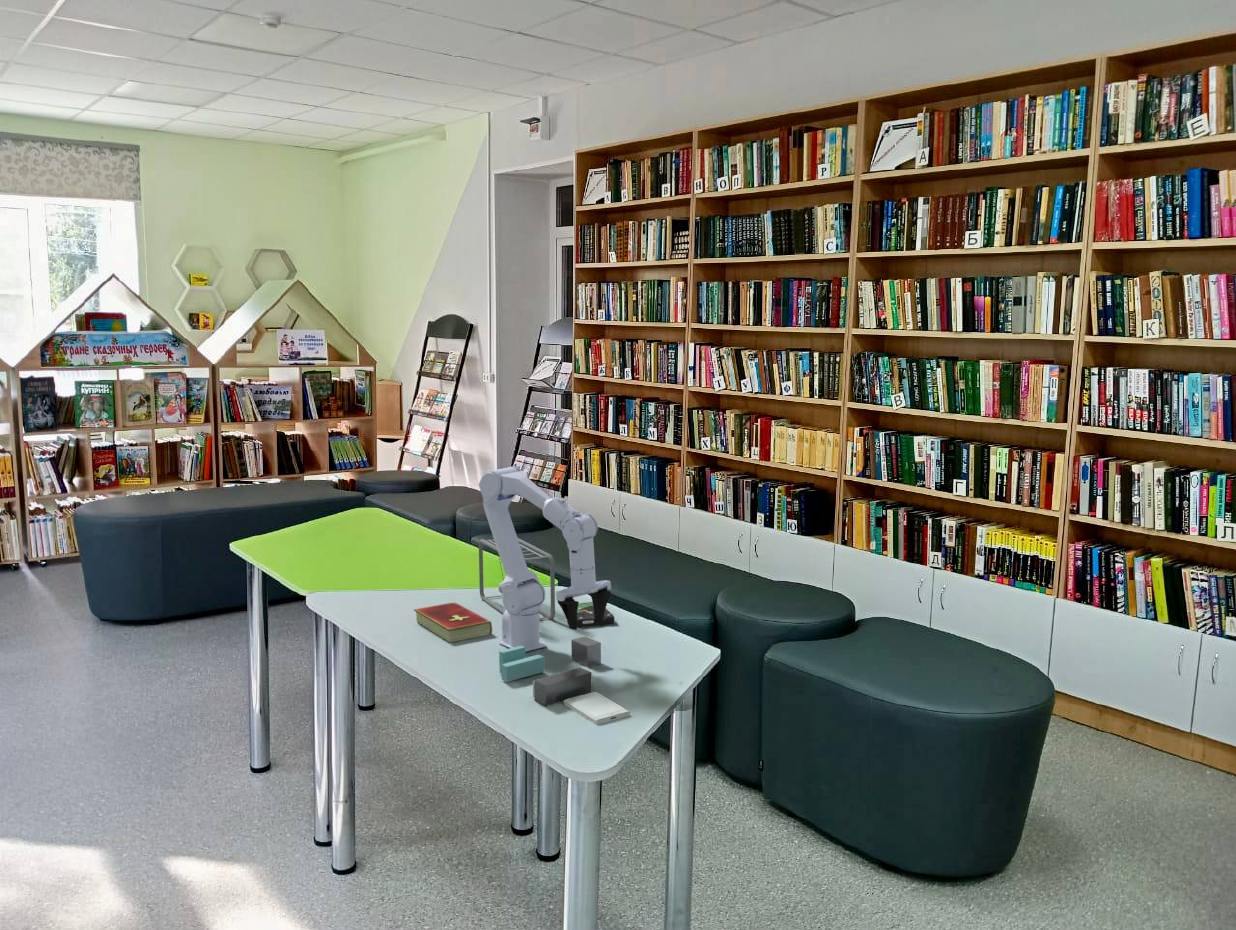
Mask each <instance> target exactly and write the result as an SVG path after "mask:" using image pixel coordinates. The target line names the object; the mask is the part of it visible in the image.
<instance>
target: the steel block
mask: <svg viewBox="0 0 1236 930" xmlns="http://www.w3.org/2000/svg"><path fill="white" fill-rule="evenodd" d="M571 661H573V662H575V663H578V664H580V665H582V666H585V667H587V668H588V667H589V668H590V667H593V666H595V665H598V664H601V663H602V642H601V641H598V640H595V639H593V638H590V637H588V636H581V637H577V638H573V639H571Z"/></svg>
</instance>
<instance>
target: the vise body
mask: <svg viewBox="0 0 1236 930" xmlns="http://www.w3.org/2000/svg"><path fill="white" fill-rule="evenodd" d="M592 687H593V685H592V671H589V670H588V669H585V668H582V666H581V667H576V668H573V669H569V670H565V671H561V672H558V673H555V674H554V673H553V674H551V675H548V676H545V677H541V678H537V679H534V680H532V697H533V698H534V702H536V703H538V704H539V705H542V706H544V707H548V706H552V705H555V703H556V704H558V703H561V702H564V700H566V699H569V698H573V697H577V696H581V695H584V694H588V693H592V690H593V689H592Z"/></svg>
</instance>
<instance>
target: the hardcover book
mask: <svg viewBox="0 0 1236 930" xmlns="http://www.w3.org/2000/svg"><path fill="white" fill-rule="evenodd" d="M413 610H414V612H415V618H416V620H415V621H417V622H419V623H420V624H419V623H418V624H419V625H421V624H422V625H423V626H422V625H421V626H422V627H424V626H425V627H426V628H425V627H424V628H425V629H427V628H428V629H427V630H428V631H430V630H431V631H430V632H432V633H434V634H435V635H437V636H439V637H440V638H442V639H443V640H445V641H447V642H449V643H453V642H459V641H463V640H469V639H472V638H477V637H482V636H487V635H492V633H493V625H492V624H493V623H492V621H491V620H488V619H487V618H485V617H483V616H482V615H480V614H478V613H476V612H474V611H473V610H470V609H468V608H466V607H464V606H462V605H461V604H458V602H455V601H452V602H447V603H441V604H436V605H429V606H425V607H419V608H413ZM417 622H416V623H417Z"/></svg>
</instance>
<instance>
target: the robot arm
mask: <svg viewBox="0 0 1236 930" xmlns="http://www.w3.org/2000/svg"><path fill="white" fill-rule="evenodd" d="M478 487H479V490H480V493H481V496H482V499H483V500H482V503H483V504H482V505H483V511H484V513H485V516H486V519H487V522H488V525H489V528H490V531H491V534H492V538H493V539H494V541H493V542H494V543H495V544H496V545H495V544H494V545H495V546H496V547H497V550H498V552H497V554H498V553H499V556H498V557H499V558H500V563H501V566H502V568H503V570H504V574H505V577H504V581H502V582H503V583H502V585H501V589H502V593H501V595H503V596H502V599H501V600H502V604H503V606H504V608H505V612H504V614H502V617H501V634H502V635H501V636H502V638H501V639H502V640H501V641H499V644H500V645H501V646H503V647H507V649H510V648H514V647H518V646H524V647H525V653H527V652H530V651H534V650H538V649H542V648H545V647H547V646H548V644H546V643H545V642H542V641H541V640H540V620H539V618H540V613H539V609H542V607H541V606H542V604H543V603H544V602H545V600H546V595H547V594H546V589H545V587H544V585H543V584H542V583H541V581H540V579H539V577H538V575H537V573H535V572H533V570H532V571H531V569H529V568H528V564H527V565H526V563H527V561H526V560H525V559H526V558H525V557H524V556H525V555H524V552H523V553H522V551H523V549H522V547H521V546H520V545H521V544H520V543H519V541H518V538H519V537H518V535H517V532H516V530H515V527H514V526H515V525H514V523H513V520H512V518H511V515H510V511H509V506H510V504H511V502H512V501H513V500H514V498H515V497H516V496H517V495H519V496H520V497H522V498H523V499H525V500H527V502H530V503H531V504H533V505H535V506H536V507H537V508H539V509H540V510H542V516H543V518H545V519H546V520H548V522H550V523H551V524H552V525H553V526H555V527H556V528H558V529H559V530H561V532H562V536H563V538H564V540H565V541H566V543H567V544H566V546H567V548H568V554H569V569H570V570H569V571H570V584H571V586H569V587H566V588H564V589H562V590H561V589H560V590H558V591H555V600H556V601H557V604H558V605H559V606H560V608H561V610H562V612H563V614H564V616H565V618H566V621H567V625H568V628H569V629H570V630H574V631H575V630H577V629H578V628H577V609H578V604H580V602H579V601H577V600H575V598H578V597H581V596H585V595H588V594H590V598H591V602H593V607H594V617H595V621H596V622H600V623H602V622H603V618H604V613H605V608H606V609H607V605H608V603H609V601H610V598H611V597H612V592H611V591H609V590H612V583H611V580H607V579H605V580H599V581H597V579H596V562H595V545H594V543H595V542H594V538H595V536H596V535H597V533H598V528H599V527H598V526H599V525H598V523H597V521H596V519H595V518H594V516H592V514H590V513H582V512H580V510H578V509H575V508H573V506H570V504H568V503H567V502H566V499H565V498H564V497H558V496H557V497H556V496H555V497H552V498H551V496H549V494H547V493H546V492H545V491H544V490H542V489H541V488H540V487H539V486H538V485H536V484H535V483H534V482H533V481H532V480H531V479H530V478H529V477H528V474H527V472H525V471H523V470H522V469H521V468H520V467H518V466H516V465H512V466H508V467H504V468H498V469H489V470H485V472H484V473H483V474H482V476H481V478H480V480H479V482H478ZM518 583H522V584H521V585H518Z"/></svg>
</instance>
